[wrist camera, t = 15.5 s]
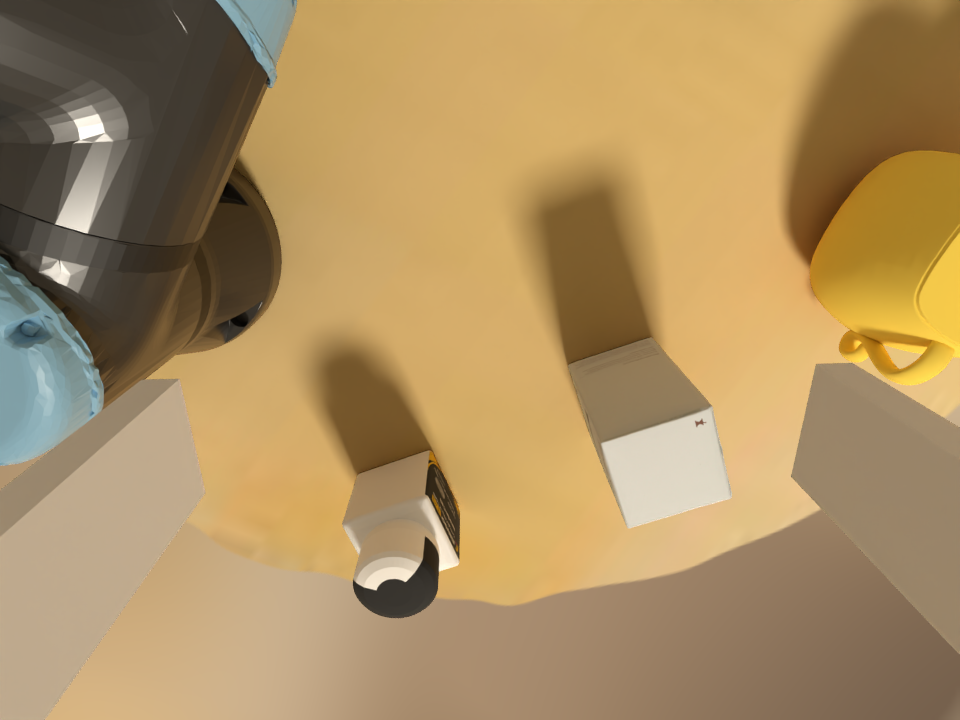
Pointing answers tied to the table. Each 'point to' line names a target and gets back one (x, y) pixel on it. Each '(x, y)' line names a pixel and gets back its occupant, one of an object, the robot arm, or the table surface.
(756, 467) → the table surface
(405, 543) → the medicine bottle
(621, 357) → the supplement box
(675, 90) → the table surface
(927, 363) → the teapot
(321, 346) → the table surface
